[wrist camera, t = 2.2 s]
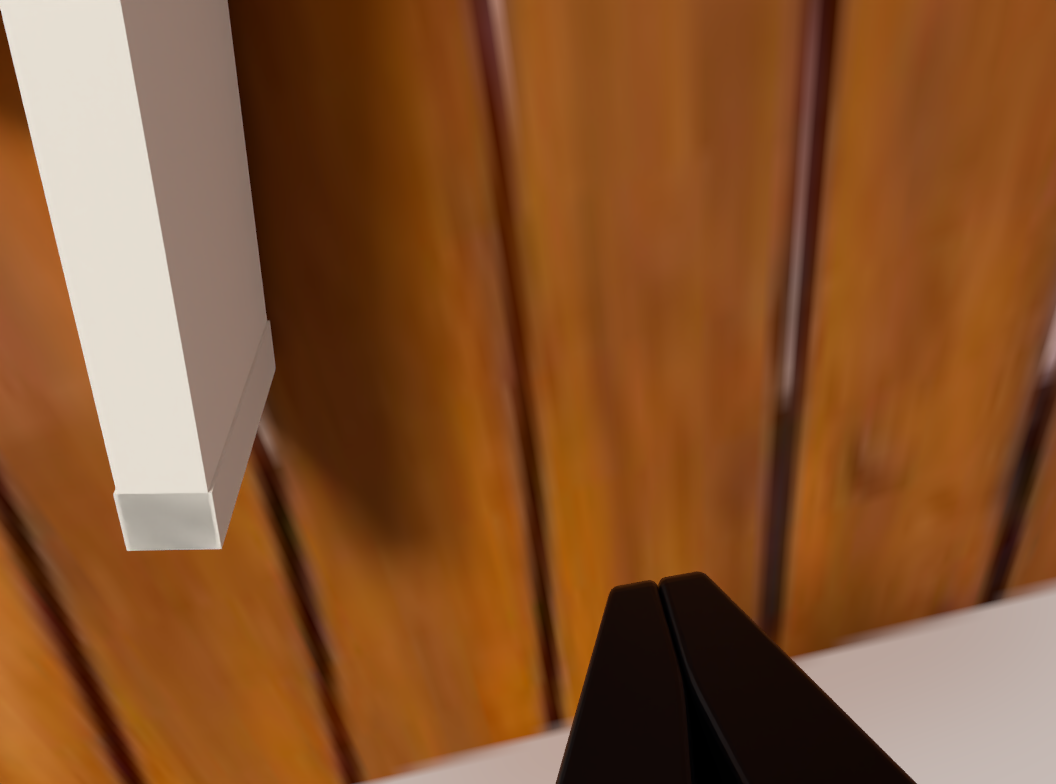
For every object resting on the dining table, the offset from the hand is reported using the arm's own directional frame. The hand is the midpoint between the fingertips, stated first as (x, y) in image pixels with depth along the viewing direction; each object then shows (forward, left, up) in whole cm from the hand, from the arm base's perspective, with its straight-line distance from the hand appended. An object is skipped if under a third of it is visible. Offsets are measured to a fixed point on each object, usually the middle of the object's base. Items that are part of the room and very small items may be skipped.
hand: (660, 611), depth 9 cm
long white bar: (-3, +5, -9) cm, 12 cm away
